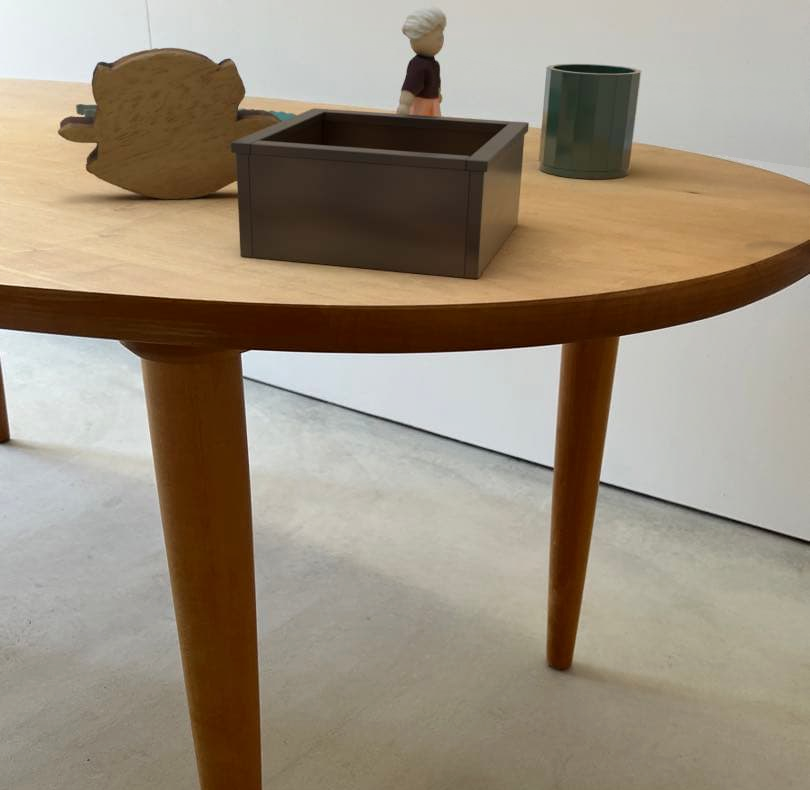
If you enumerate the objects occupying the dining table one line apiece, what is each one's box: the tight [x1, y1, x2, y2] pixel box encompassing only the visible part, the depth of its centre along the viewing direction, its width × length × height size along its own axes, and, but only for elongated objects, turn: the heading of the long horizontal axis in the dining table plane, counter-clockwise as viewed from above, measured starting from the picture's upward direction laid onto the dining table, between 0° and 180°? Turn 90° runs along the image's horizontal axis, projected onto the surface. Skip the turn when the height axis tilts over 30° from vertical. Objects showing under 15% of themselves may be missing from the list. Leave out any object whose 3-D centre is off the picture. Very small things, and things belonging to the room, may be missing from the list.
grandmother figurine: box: [396, 4, 447, 117], centre depth 85 cm, size 8×4×13 cm, turn 169°
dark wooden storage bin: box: [231, 107, 530, 280], centre depth 70 cm, size 15×15×7 cm
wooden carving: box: [57, 47, 282, 200], centre depth 79 cm, size 16×5×10 cm, turn 109°
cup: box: [538, 63, 642, 180], centre depth 92 cm, size 8×8×8 cm
